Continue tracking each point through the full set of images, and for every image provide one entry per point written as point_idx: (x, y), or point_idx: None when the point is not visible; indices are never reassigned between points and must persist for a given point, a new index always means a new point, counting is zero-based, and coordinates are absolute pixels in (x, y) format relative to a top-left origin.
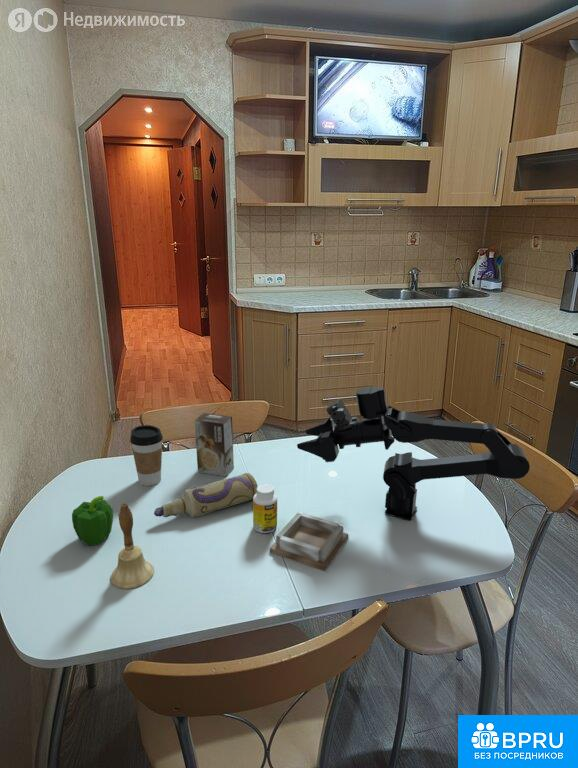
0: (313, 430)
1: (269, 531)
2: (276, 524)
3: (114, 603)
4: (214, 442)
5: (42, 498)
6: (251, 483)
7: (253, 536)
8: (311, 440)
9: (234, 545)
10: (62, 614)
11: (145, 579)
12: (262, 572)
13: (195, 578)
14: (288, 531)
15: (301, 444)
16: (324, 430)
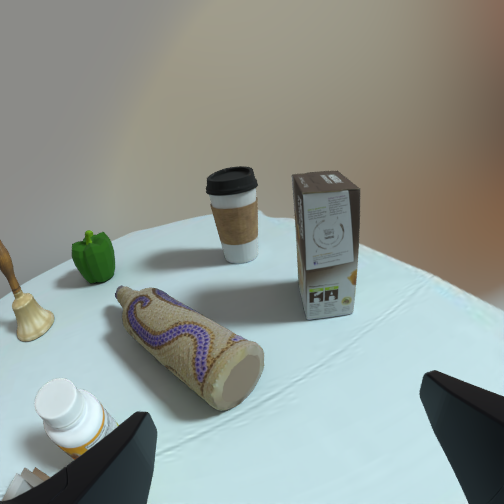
0: (453, 417)
1: None
2: None
3: (6, 329)
4: (299, 235)
5: (177, 222)
6: (205, 373)
7: None
8: (70, 487)
9: None
10: (10, 306)
11: (19, 336)
12: (2, 458)
13: (11, 381)
14: None
15: (115, 434)
16: (501, 481)
